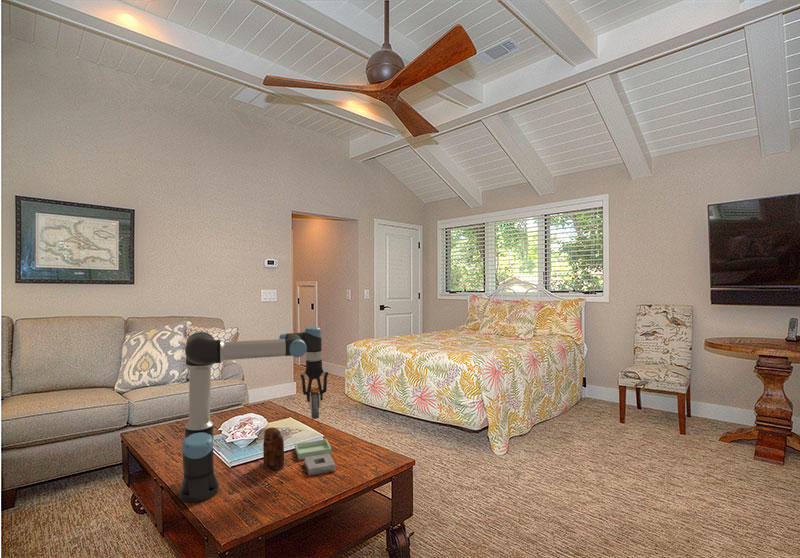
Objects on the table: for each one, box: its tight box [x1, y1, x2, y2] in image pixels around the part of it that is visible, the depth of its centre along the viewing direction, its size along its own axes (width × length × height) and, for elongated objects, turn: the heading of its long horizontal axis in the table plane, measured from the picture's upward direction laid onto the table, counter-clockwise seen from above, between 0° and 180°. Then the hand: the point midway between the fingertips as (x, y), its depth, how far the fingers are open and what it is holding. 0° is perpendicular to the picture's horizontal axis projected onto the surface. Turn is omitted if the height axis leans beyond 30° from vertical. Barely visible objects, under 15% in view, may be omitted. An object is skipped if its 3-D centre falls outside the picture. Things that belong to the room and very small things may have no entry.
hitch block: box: [303, 453, 336, 476], centre depth 217 cm, size 12×12×3 cm
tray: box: [294, 438, 333, 461], centre depth 233 cm, size 16×12×3 cm
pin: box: [310, 386, 320, 420], centre depth 224 cm, size 5×5×14 cm
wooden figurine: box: [262, 426, 285, 471], centre depth 217 cm, size 12×6×18 cm, turn 65°
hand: (314, 407), depth 225 cm, fingers closed on pin, 4 cm apart
